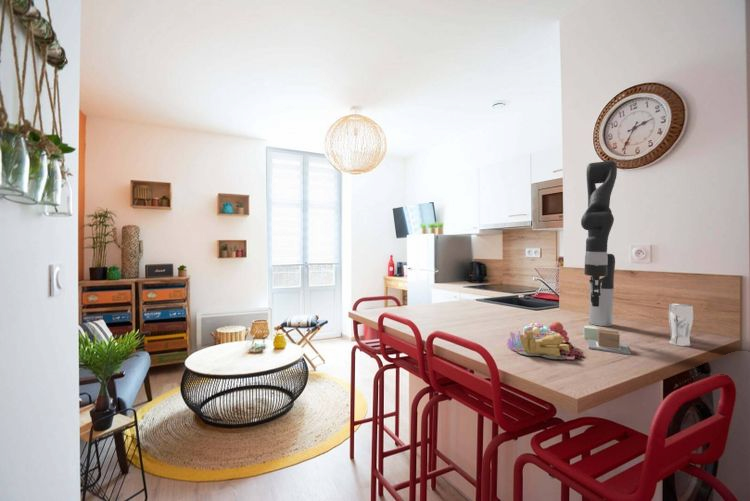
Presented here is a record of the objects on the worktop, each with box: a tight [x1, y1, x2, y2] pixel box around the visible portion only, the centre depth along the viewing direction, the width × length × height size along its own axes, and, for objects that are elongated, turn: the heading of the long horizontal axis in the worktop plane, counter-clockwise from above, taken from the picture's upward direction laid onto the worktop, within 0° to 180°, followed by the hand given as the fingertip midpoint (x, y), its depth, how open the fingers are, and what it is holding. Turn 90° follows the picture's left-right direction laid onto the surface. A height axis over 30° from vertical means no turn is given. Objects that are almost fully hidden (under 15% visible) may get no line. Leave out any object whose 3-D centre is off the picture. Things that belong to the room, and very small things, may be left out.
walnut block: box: [598, 328, 621, 349], centre depth 124 cm, size 6×6×5 cm
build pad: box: [587, 339, 632, 356], centre depth 124 cm, size 12×12×1 cm
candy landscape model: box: [506, 321, 584, 360], centre depth 121 cm, size 25×24×9 cm
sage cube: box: [583, 325, 599, 341], centre depth 136 cm, size 4×4×4 cm
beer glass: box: [668, 302, 694, 347], centre depth 130 cm, size 7×7×15 cm
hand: (594, 304), depth 135 cm, fingers open, 8 cm apart
